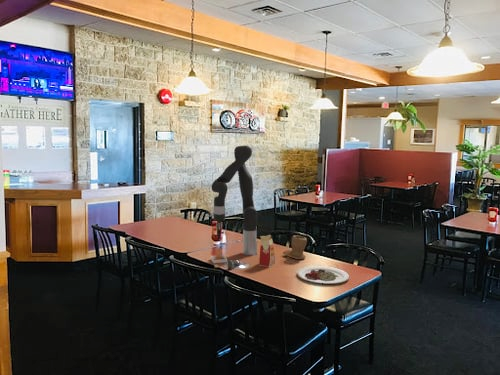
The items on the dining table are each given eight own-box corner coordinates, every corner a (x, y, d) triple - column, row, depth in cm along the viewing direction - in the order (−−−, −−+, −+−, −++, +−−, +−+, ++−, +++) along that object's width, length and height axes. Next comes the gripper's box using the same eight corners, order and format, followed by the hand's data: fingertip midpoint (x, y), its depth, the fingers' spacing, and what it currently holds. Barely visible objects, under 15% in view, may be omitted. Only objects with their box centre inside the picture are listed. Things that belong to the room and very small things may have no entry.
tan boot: (309, 258, 276) (310, 236, 274) (297, 261, 269) (297, 239, 267) (294, 253, 288) (295, 232, 286) (281, 255, 281) (282, 234, 279)
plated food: (358, 277, 240) (359, 272, 240) (329, 290, 220) (329, 284, 219) (317, 265, 262) (317, 260, 261) (286, 276, 241) (286, 270, 240)
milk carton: (275, 264, 263) (276, 233, 260) (270, 268, 254) (270, 236, 252) (262, 262, 267) (263, 232, 264) (256, 266, 258) (257, 235, 256)
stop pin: (221, 259, 269) (221, 247, 268) (222, 261, 265) (222, 249, 264) (215, 259, 268) (215, 248, 267) (216, 261, 264) (216, 249, 263)
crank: (235, 263, 260) (235, 255, 259) (241, 264, 258) (241, 256, 258) (225, 269, 249) (225, 260, 248) (232, 270, 247) (232, 261, 246)
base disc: (245, 261, 267) (245, 259, 267) (252, 269, 252) (252, 266, 252) (212, 263, 261) (212, 261, 261) (217, 271, 246) (217, 269, 246)
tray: (224, 258, 272) (224, 255, 272) (227, 263, 263) (227, 259, 263) (210, 259, 270) (210, 256, 269) (213, 264, 261) (213, 260, 260)
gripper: (213, 210, 268) (213, 236, 271) (213, 214, 255) (213, 241, 258) (224, 210, 269) (224, 236, 271) (225, 214, 256) (225, 241, 258)
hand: (219, 239), depth 264 cm, fingers closed
